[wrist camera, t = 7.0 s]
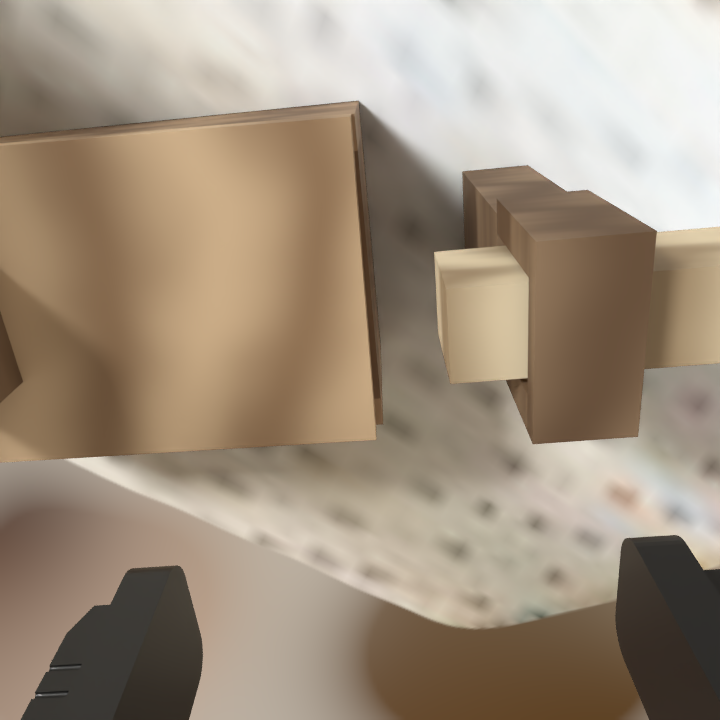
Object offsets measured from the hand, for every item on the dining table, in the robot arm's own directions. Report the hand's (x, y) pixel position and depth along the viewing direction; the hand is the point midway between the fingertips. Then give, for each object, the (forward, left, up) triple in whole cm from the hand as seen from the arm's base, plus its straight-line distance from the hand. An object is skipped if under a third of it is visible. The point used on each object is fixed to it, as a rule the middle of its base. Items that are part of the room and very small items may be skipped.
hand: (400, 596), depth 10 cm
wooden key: (+8, 0, -14) cm, 16 cm away
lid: (-11, 0, -16) cm, 19 cm away
